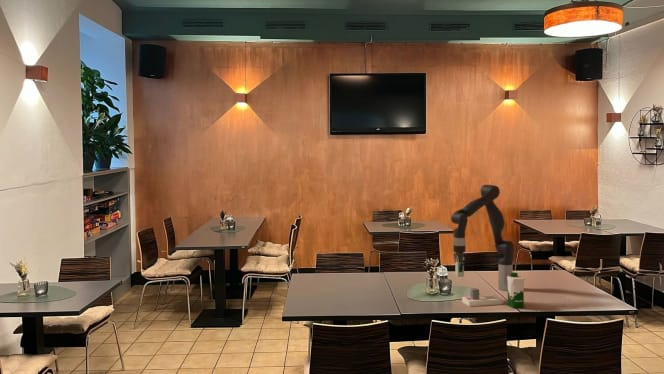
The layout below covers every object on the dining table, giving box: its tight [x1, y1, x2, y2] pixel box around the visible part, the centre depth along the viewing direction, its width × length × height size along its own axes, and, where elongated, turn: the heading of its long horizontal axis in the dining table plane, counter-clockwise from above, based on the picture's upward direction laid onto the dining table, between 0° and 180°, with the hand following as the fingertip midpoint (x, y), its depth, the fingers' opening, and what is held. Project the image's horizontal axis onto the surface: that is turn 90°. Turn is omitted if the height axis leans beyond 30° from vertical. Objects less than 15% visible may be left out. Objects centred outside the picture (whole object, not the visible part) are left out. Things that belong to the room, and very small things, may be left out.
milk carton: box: [507, 272, 526, 309], centre depth 340 cm, size 9×9×20 cm
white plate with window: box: [461, 287, 504, 307], centre depth 350 cm, size 22×11×9 cm, turn 99°
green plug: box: [454, 261, 465, 278], centre depth 359 cm, size 4×4×9 cm
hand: (459, 270), depth 359 cm, fingers closed on green plug, 4 cm apart
